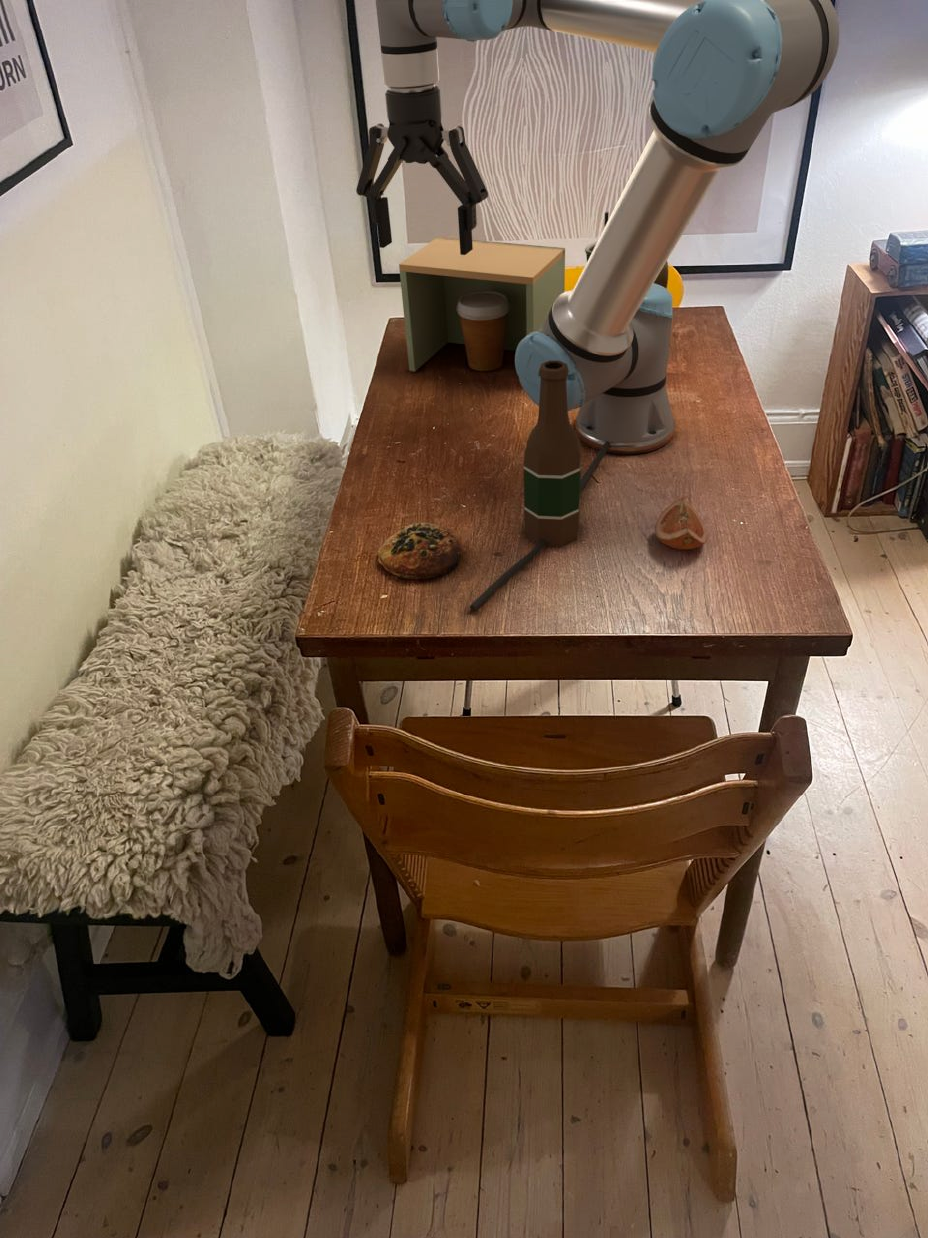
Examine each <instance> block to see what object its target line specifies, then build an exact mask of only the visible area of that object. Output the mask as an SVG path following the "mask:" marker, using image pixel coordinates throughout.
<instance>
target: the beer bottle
mask: <svg viewBox="0 0 928 1238" xmlns="http://www.w3.org/2000/svg"><path fill="white" fill-rule="evenodd" d="M568 372H569V370H568V366H567V364H566V363H564V362H561V361H547V362H544V363H542V364H541V366H540V370H539V374H538V376H540V377H541V384H540V400H539V406H538V415H537V416H538V417H537V418H538V419H537V423H536V424H535V425H534V427H533V428H532V429H531V431H530V433H529V435H528V438H527V441H526V444H525V449H524V452H523V454H524V455H523V508H524V509H523V517H524V519H523V520H524V521H523V523H524V535H525V536H526V538H528V539H529V540H531V542H534V543H535V544H536V545H537V544H538V543H539V542H541V541H542V540H546V541H547V542H548V544H547V545H546V546H545V547H553V548H554V547H558V548H561V547H563V546H566V545H567V544H569V543H571V542H574V541H575V540H577V539H578V535H579V527H580V516H581V495H582V493H581V480H582V464H583V463H582V458H583V455H582V453H583V452H582V441H581V440H580V439H579V437H578V434H577V432H576V429H575V428H574V427H573V425H572V424H571V422H570V417H569V412H568V405H567V383H566V377H567V376H568Z"/></svg>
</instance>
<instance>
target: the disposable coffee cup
mask: <svg viewBox="0 0 928 1238" xmlns="http://www.w3.org/2000/svg"><path fill="white" fill-rule="evenodd" d="M509 308H510V303H509V302H508V299H507V296H506V295H505V294H503V293H501V292H497V291H489V290H483V291H474V292H470V293H467V294H464V295H462V296H461V297H460V298H459V301H458V305H457V306H456V309H457V311H458V314H459V315H460V320H461V325H462V331H463V337H464V342H465V344H464V347H465V352H466V358H467V364H468V368H470V369H472V370H473V371H474V370H475V371H480V372H491V371H494V370H497V369H500V368H501V367H502V365H503V364H504V352H505V350H504V344H505V334H506V324H507V313H508V311H509Z"/></svg>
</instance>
